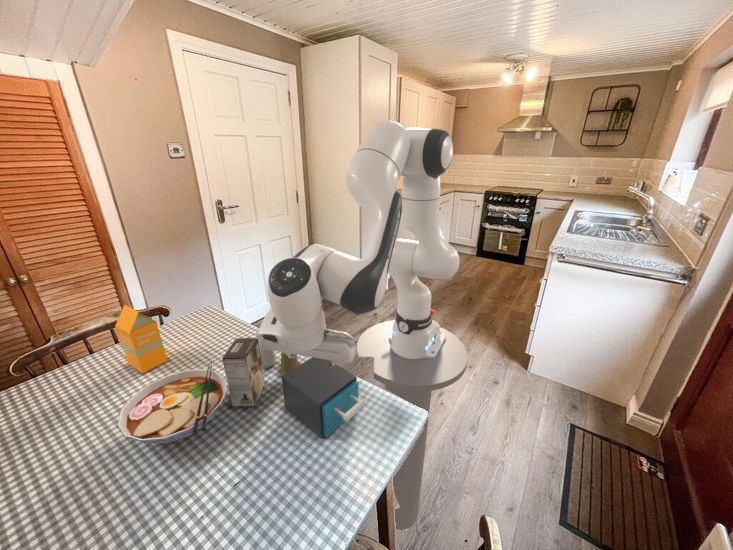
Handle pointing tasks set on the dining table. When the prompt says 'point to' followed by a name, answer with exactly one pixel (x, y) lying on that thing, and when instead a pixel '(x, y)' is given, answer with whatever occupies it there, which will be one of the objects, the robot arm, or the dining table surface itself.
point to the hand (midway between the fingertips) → (312, 359)
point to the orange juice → (140, 340)
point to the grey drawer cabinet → (313, 390)
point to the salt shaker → (266, 355)
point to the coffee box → (244, 371)
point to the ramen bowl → (173, 406)
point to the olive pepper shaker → (287, 363)
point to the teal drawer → (341, 408)
